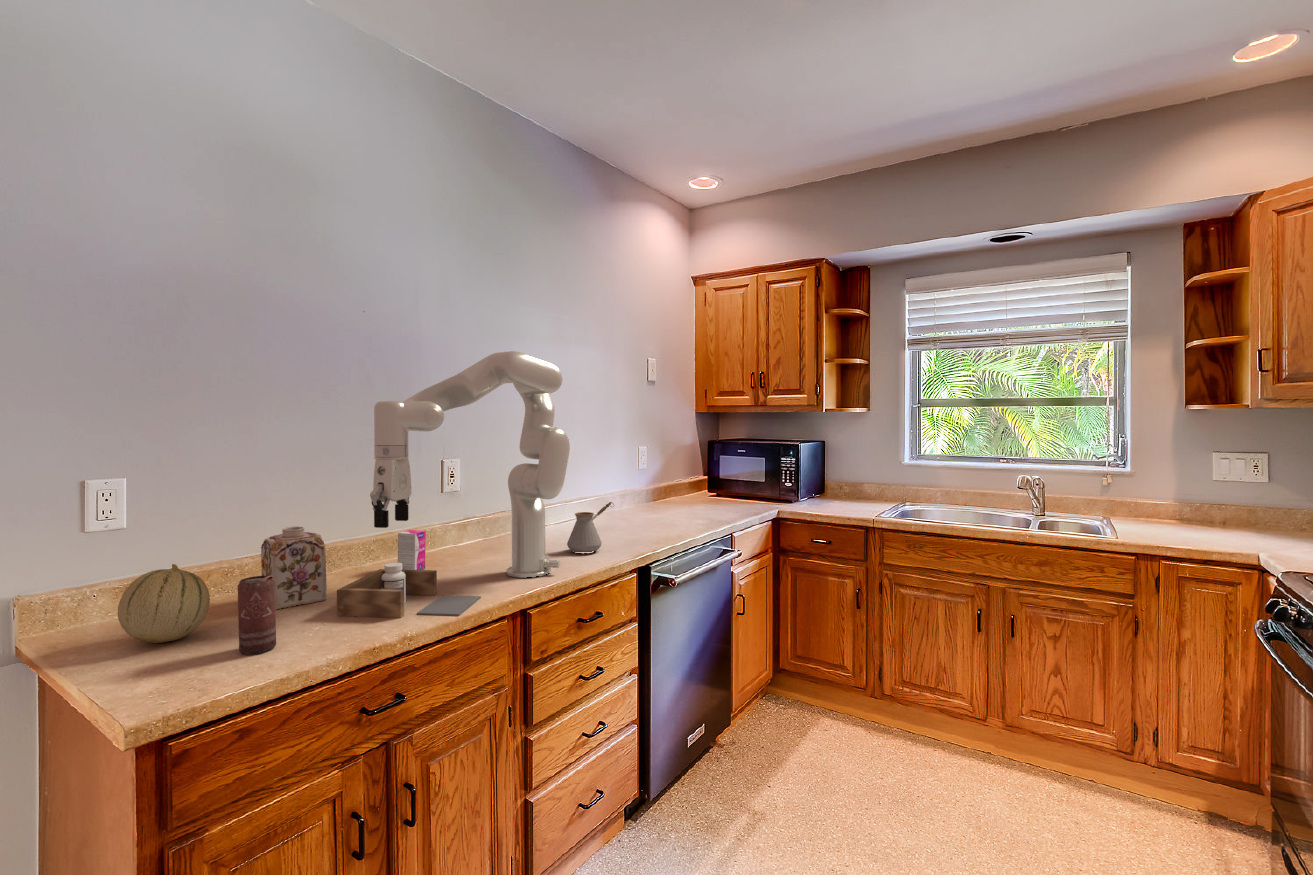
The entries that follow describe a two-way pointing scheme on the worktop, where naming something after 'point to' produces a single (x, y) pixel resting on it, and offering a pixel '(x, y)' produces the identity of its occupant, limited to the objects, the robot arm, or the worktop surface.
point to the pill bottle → (394, 578)
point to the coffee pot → (585, 532)
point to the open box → (383, 594)
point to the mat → (449, 605)
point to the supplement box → (412, 549)
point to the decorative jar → (295, 566)
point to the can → (256, 615)
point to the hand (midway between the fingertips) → (391, 523)
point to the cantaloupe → (163, 605)
